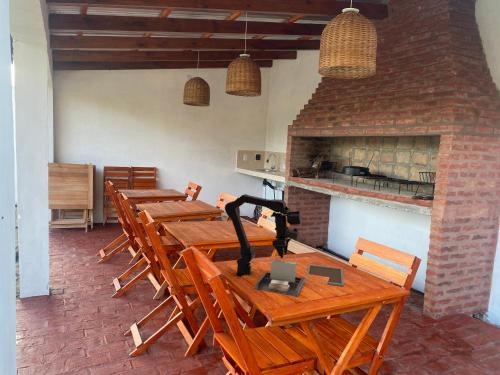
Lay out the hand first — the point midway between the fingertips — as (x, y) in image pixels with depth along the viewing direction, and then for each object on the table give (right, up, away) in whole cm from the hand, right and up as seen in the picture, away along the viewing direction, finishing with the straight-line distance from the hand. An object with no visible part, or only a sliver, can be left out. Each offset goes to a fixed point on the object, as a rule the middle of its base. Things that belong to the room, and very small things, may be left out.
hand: (284, 255), depth 199 cm
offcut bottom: (-3, -14, -11) cm, 18 cm away
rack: (-2, -14, -8) cm, 17 cm away
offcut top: (-3, -12, -11) cm, 17 cm away
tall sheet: (-1, -13, -5) cm, 14 cm away
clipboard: (+23, -14, +15) cm, 31 cm away
